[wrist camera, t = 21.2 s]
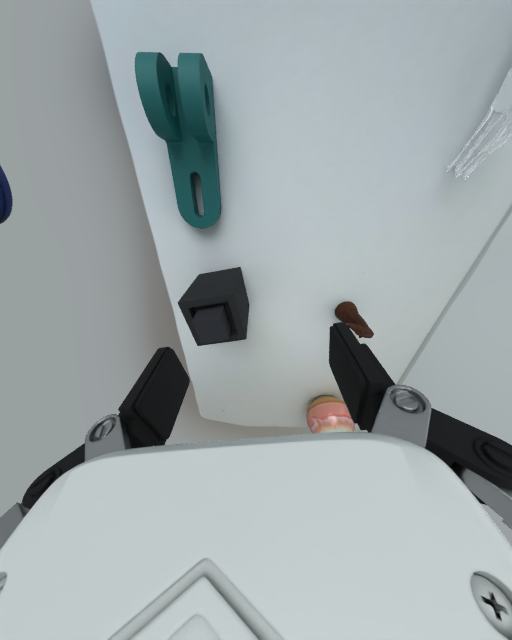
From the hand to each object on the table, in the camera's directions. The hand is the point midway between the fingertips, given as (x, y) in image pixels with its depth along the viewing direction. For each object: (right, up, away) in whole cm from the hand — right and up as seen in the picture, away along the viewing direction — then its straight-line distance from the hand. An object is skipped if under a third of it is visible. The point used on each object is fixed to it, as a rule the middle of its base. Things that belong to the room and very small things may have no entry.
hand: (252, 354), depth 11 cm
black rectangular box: (-7, +8, +31) cm, 33 cm away
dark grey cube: (-7, +2, +22) cm, 23 cm away
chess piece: (+21, +4, +33) cm, 40 cm away
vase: (+23, -25, +52) cm, 62 cm away
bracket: (-9, +27, +19) cm, 34 cm away
